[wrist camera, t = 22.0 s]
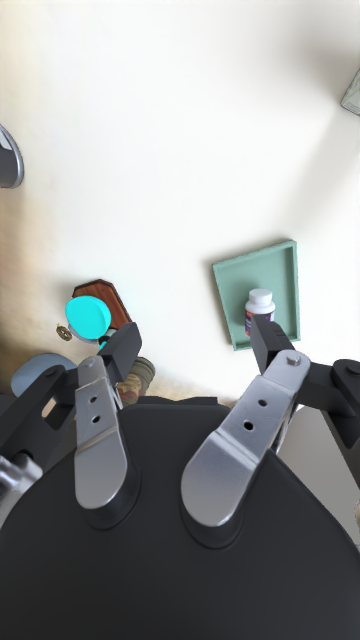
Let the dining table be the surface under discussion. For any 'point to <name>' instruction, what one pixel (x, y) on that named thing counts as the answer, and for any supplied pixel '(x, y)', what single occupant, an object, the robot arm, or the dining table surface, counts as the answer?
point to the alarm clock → (37, 374)
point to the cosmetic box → (353, 96)
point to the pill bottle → (259, 306)
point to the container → (136, 381)
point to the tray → (260, 272)
